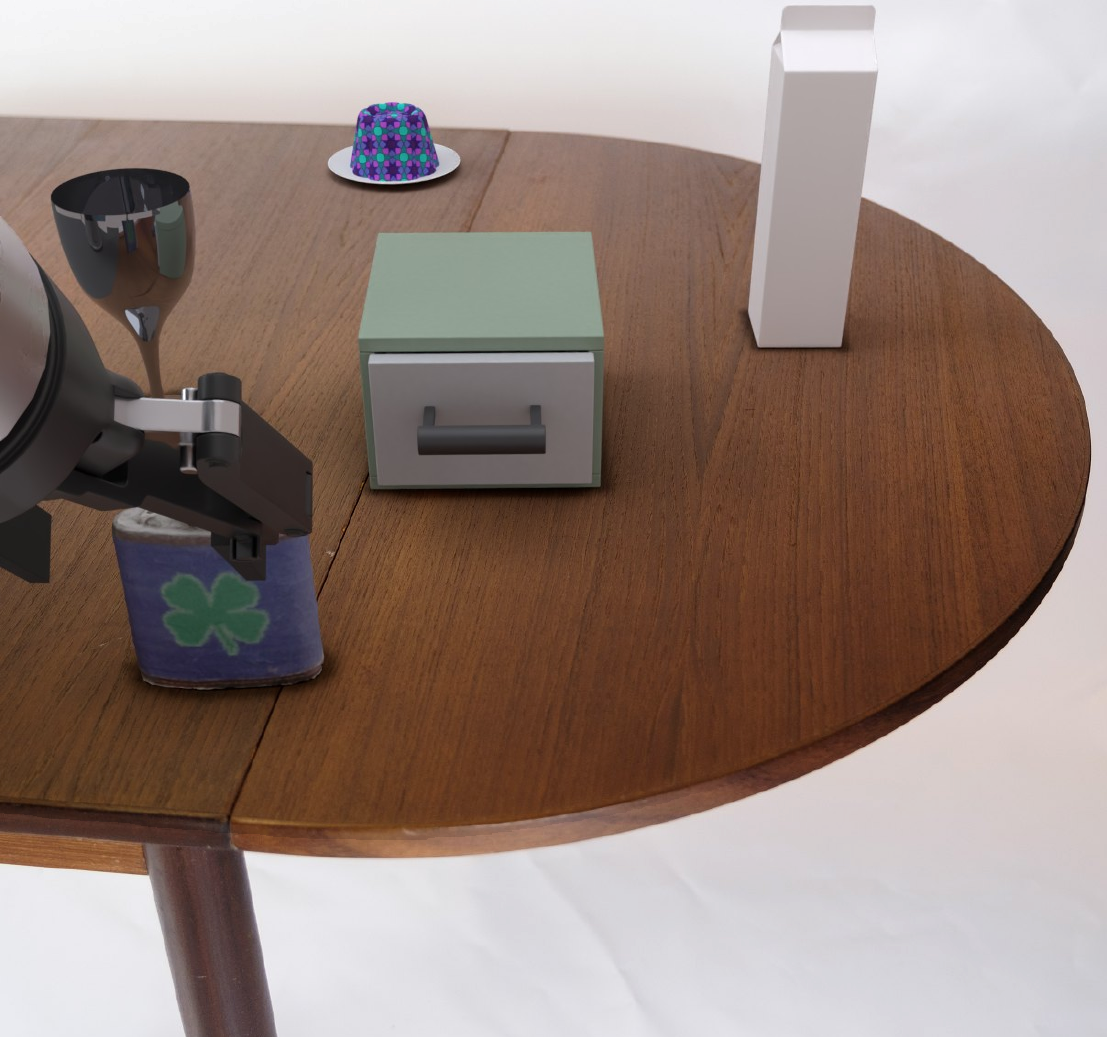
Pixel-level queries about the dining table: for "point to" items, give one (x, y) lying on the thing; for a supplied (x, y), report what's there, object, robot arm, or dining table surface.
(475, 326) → the cabinet
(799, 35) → the milk
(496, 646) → the dining table surface
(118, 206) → the wine glass
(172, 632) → the flask
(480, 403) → the drawer
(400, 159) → the pudding
